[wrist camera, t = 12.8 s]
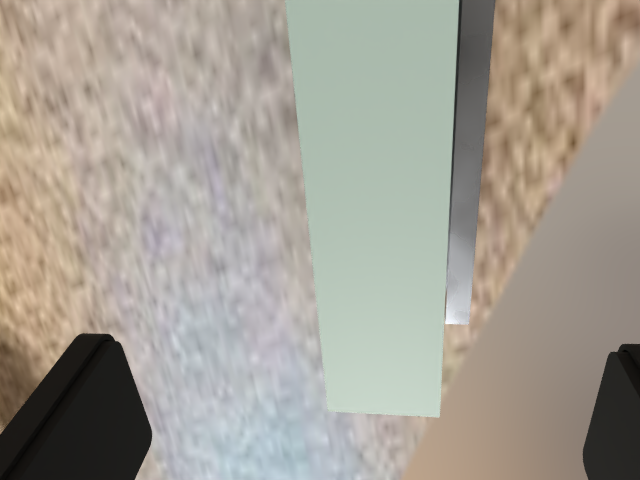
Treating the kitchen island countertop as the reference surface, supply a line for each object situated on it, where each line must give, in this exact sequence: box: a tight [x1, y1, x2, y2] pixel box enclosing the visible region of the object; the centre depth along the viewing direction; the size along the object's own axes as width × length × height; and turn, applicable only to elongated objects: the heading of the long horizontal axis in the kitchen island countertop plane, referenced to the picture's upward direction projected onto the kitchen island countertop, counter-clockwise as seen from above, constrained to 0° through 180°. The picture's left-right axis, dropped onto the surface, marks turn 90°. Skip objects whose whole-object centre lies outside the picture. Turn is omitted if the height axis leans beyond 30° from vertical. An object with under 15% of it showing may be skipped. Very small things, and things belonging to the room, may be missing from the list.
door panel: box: [285, 0, 459, 417], centre depth 20 cm, size 14×4×12 cm, turn 5°
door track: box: [444, 0, 495, 324], centre depth 25 cm, size 20×8×4 cm, turn 5°
